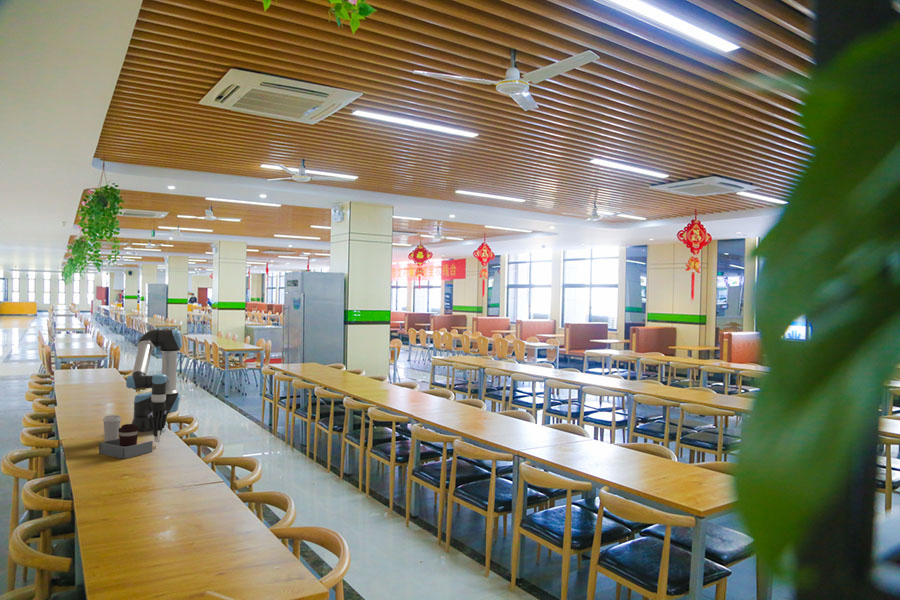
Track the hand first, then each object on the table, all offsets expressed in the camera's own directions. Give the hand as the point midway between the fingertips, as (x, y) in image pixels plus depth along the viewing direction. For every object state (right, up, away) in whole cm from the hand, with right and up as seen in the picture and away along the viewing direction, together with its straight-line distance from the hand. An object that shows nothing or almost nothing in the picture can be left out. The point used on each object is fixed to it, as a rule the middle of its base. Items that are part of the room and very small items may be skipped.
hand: (157, 441), depth 335 cm
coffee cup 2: (-8, -2, -17) cm, 19 cm away
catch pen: (-8, -2, -18) cm, 20 cm away
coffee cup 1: (-28, -1, +3) cm, 28 cm away
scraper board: (-3, -3, -10) cm, 11 cm away
